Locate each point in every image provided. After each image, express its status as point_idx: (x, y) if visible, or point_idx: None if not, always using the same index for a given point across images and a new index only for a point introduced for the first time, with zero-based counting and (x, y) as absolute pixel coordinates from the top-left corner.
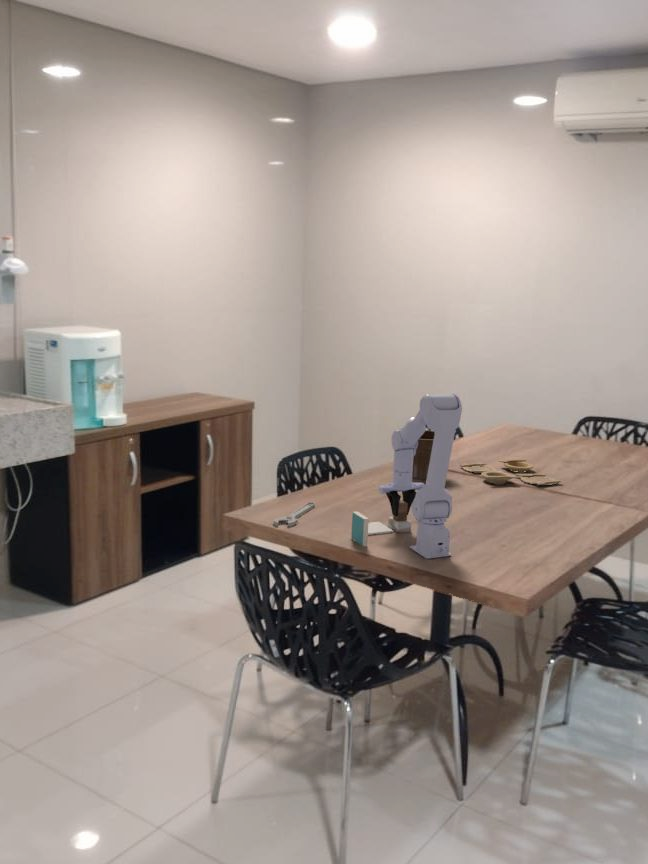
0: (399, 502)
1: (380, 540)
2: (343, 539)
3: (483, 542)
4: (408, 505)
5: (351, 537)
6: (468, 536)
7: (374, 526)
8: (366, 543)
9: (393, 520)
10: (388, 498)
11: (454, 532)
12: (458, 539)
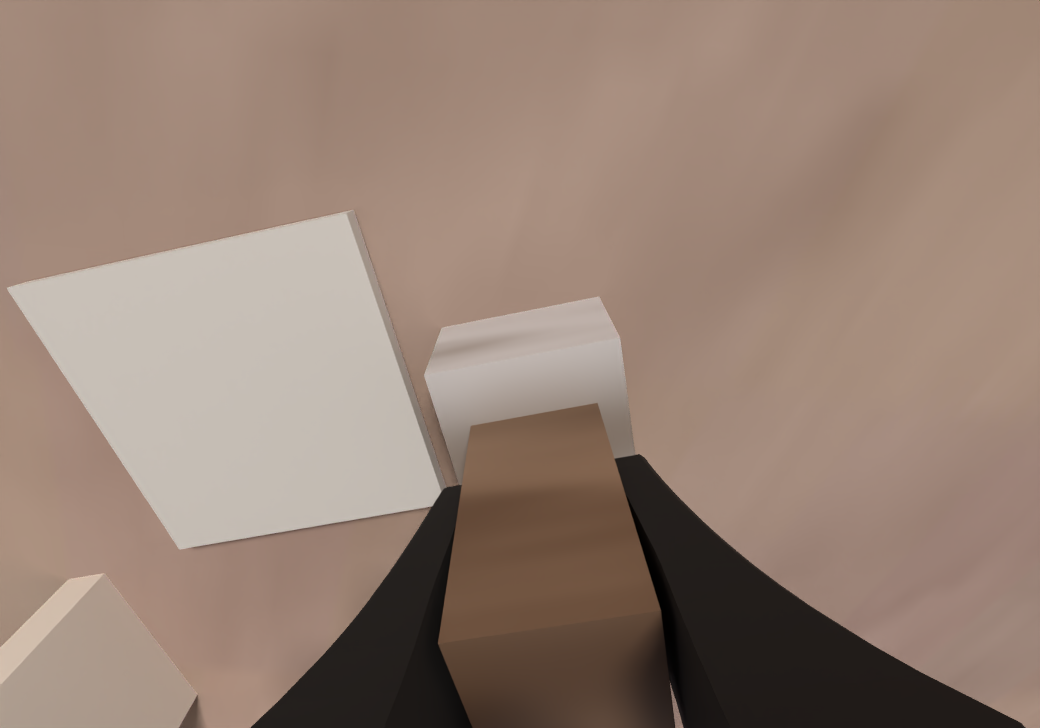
0: (519, 724)
1: (304, 625)
2: (2, 589)
3: (1022, 700)
4: (674, 692)
5: (57, 595)
6: (1025, 608)
7: (272, 380)
8: (180, 714)
9: (458, 482)
10: (277, 713)
11: (993, 527)
12: (899, 649)
